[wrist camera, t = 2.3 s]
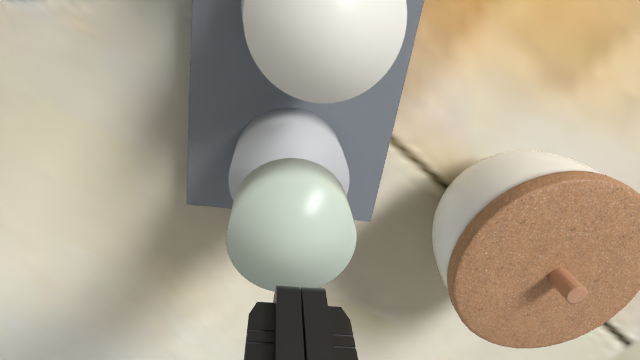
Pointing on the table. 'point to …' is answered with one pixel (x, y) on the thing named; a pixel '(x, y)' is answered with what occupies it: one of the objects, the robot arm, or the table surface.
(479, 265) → the lidded jar
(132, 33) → the table surface
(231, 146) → the control board
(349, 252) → the knob
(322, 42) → the knob mid
